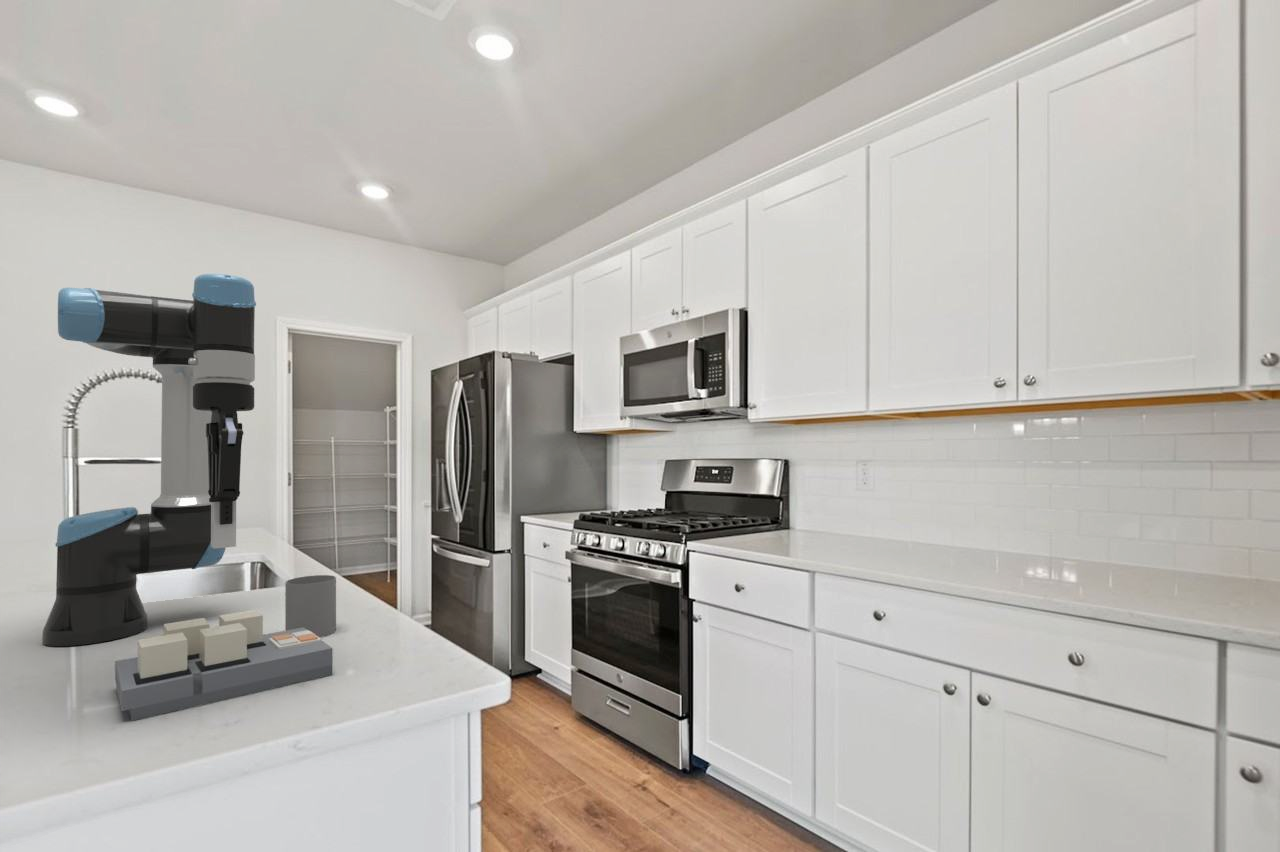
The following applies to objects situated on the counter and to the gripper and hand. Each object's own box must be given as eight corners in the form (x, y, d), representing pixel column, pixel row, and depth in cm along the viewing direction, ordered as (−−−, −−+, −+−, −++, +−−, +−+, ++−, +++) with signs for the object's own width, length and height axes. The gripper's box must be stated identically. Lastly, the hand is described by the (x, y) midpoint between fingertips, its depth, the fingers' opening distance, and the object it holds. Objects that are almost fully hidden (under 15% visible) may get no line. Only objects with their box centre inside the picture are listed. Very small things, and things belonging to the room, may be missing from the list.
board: (114, 689, 94) (115, 656, 94) (303, 651, 110) (303, 623, 110) (121, 723, 82) (122, 685, 82) (332, 674, 98) (332, 643, 98)
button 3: (199, 657, 93) (199, 629, 93) (239, 650, 96) (239, 622, 96) (204, 666, 89) (204, 636, 89) (246, 657, 93) (246, 629, 93)
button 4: (219, 641, 101) (219, 615, 101) (255, 634, 104) (255, 609, 104) (224, 648, 97) (225, 621, 97) (262, 641, 100) (262, 615, 101)
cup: (314, 641, 116) (314, 584, 117) (275, 639, 118) (275, 583, 118) (345, 628, 125) (345, 575, 125) (307, 626, 126) (307, 574, 126)
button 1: (137, 669, 88) (137, 639, 88) (182, 660, 92) (182, 632, 92) (140, 678, 85) (141, 647, 85) (187, 669, 88) (187, 639, 88)
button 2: (163, 651, 96) (163, 624, 96) (203, 644, 100) (203, 617, 100) (167, 659, 93) (167, 630, 93) (208, 651, 96) (209, 624, 96)
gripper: (186, 385, 97) (185, 544, 96) (200, 377, 86) (199, 555, 86) (244, 388, 102) (243, 539, 101) (264, 380, 91) (264, 548, 90)
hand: (223, 546), depth 93 cm, fingers closed
